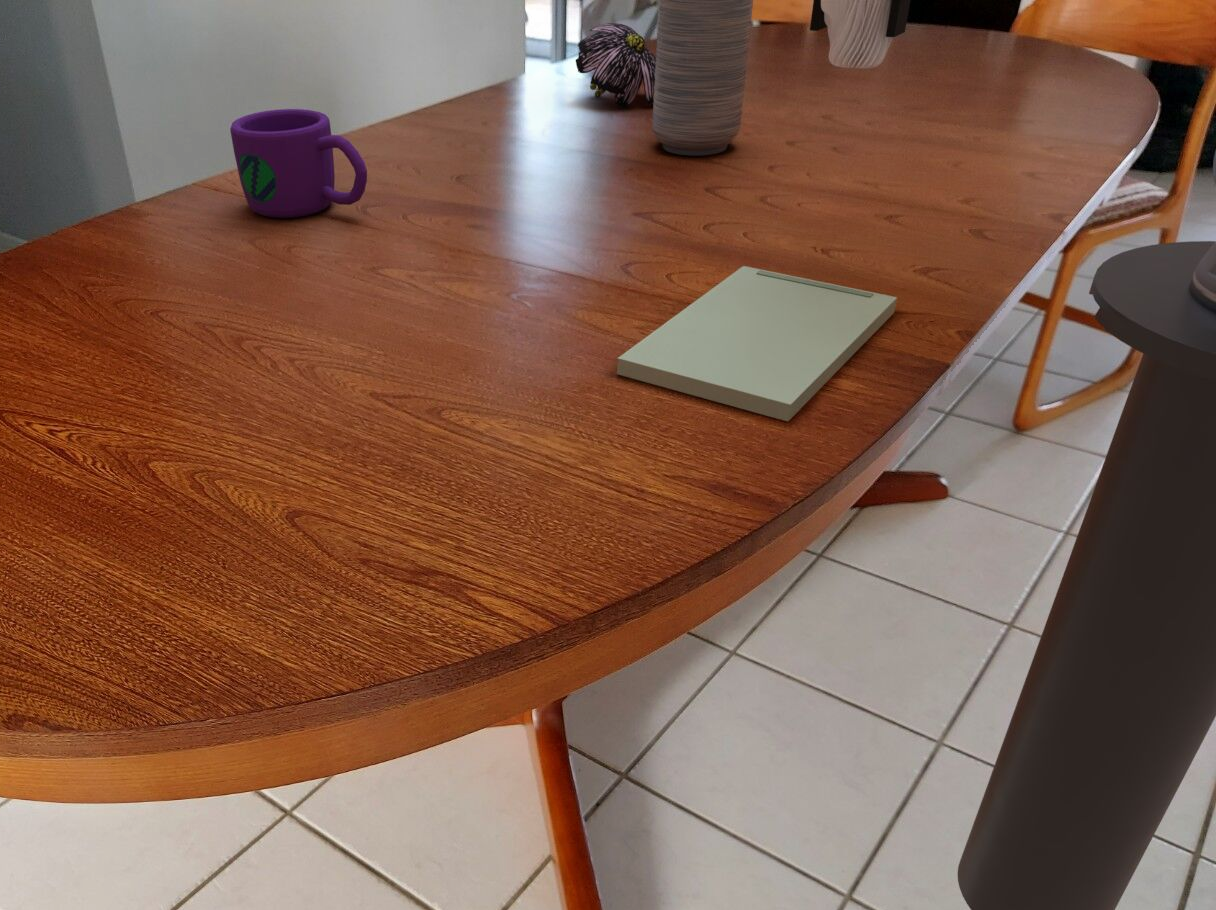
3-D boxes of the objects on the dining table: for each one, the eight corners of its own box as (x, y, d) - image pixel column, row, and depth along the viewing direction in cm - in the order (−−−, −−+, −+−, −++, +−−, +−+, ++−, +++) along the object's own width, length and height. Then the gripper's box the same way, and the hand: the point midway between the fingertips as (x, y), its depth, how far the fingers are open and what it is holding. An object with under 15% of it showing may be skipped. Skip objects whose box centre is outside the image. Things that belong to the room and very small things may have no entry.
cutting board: (741, 280, 101) (743, 264, 100) (894, 312, 94) (897, 295, 93) (616, 374, 86) (617, 356, 85) (788, 422, 79) (791, 402, 78)
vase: (656, 160, 135) (667, -40, 122) (646, 137, 145) (655, -51, 131) (745, 157, 135) (766, -43, 122) (730, 134, 144) (748, -55, 131)
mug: (224, 214, 123) (208, 126, 117) (286, 187, 131) (273, 104, 125) (340, 235, 116) (329, 143, 110) (398, 206, 124) (391, 118, 118)
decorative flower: (617, 46, 148) (576, -1, 157) (585, 122, 156) (548, 73, 164) (696, 64, 155) (653, 18, 164) (662, 136, 163) (622, 89, 171)
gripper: (1050, -301, 78) (978, 33, 92) (808, -282, 88) (775, 17, 102) (1022, -305, 74) (951, 47, 87) (770, -285, 84) (740, 29, 97)
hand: (856, 30), depth 94 cm, fingers closed on shell sculpture, 6 cm apart
